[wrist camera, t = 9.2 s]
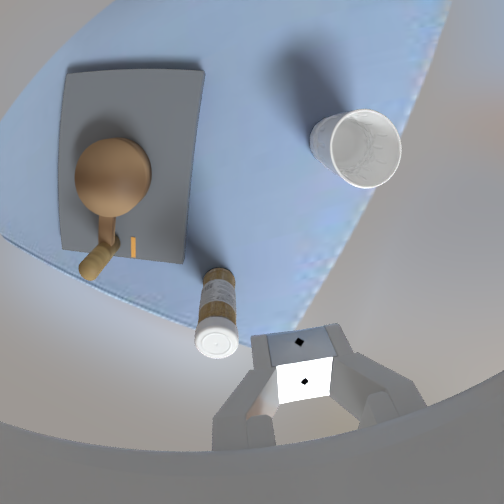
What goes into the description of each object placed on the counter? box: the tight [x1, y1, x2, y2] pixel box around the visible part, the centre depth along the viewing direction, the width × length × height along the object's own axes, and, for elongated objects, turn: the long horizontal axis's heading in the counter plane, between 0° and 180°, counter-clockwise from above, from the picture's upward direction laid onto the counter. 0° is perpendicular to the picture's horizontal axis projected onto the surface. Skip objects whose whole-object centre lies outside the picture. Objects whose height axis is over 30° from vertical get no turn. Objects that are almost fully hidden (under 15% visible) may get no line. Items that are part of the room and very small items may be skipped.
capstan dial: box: [75, 137, 152, 281], centre depth 30 cm, size 15×9×8 cm, turn 168°
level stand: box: [58, 69, 205, 264], centre depth 33 cm, size 24×18×2 cm
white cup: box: [310, 109, 401, 188], centre depth 30 cm, size 8×8×10 cm
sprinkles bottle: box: [195, 268, 238, 358], centre depth 35 cm, size 5×5×13 cm
